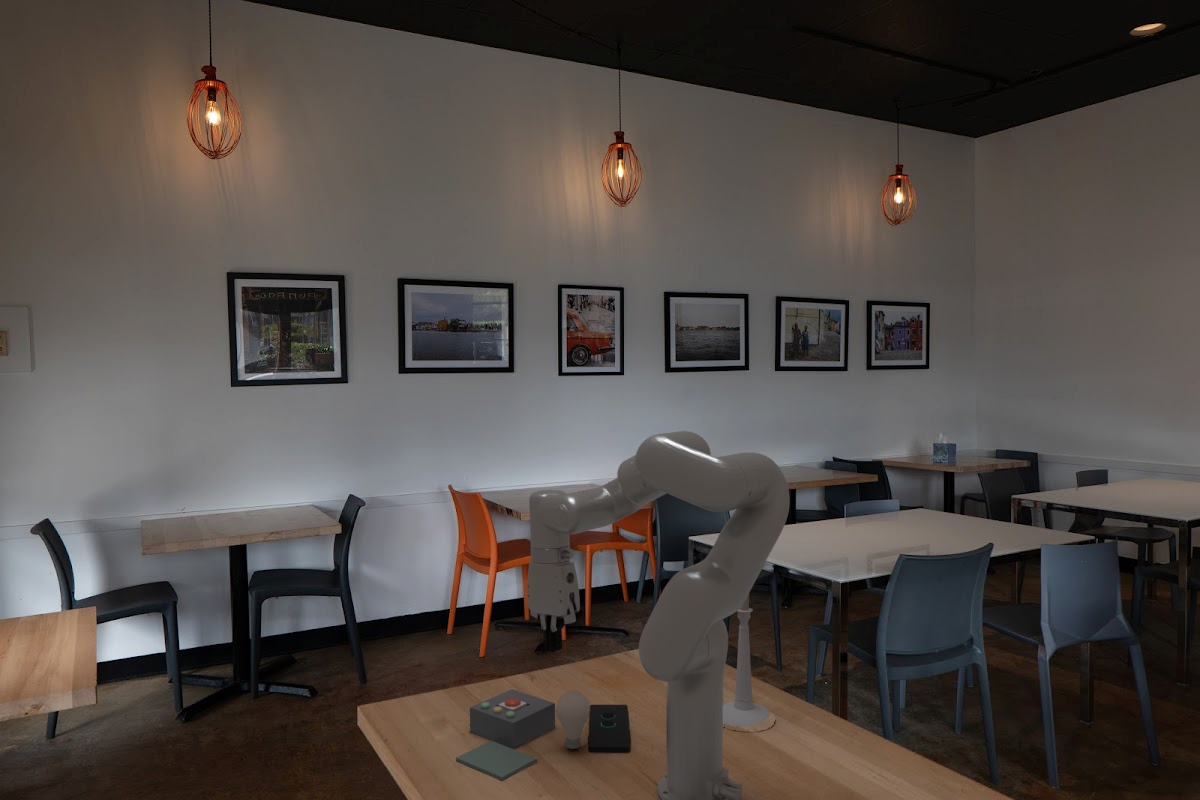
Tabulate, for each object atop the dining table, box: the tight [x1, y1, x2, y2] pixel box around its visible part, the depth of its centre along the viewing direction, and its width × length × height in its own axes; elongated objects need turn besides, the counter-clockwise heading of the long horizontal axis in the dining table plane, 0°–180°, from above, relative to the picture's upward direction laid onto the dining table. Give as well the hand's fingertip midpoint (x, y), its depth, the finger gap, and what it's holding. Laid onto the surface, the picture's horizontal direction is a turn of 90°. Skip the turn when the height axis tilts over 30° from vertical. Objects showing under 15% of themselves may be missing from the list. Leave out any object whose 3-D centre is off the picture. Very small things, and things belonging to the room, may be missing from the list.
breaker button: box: [498, 698, 527, 712], centre depth 167 cm, size 4×4×4 cm
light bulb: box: [555, 690, 590, 750], centre depth 158 cm, size 7×7×11 cm
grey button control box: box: [469, 688, 556, 750], centre depth 167 cm, size 12×12×6 cm
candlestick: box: [723, 593, 770, 727], centre depth 171 cm, size 13×13×30 cm
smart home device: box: [587, 704, 632, 754], centre depth 167 cm, size 8×2×20 cm
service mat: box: [455, 740, 538, 781], centre depth 154 cm, size 12×9×1 cm
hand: (553, 649), depth 160 cm, fingers closed
